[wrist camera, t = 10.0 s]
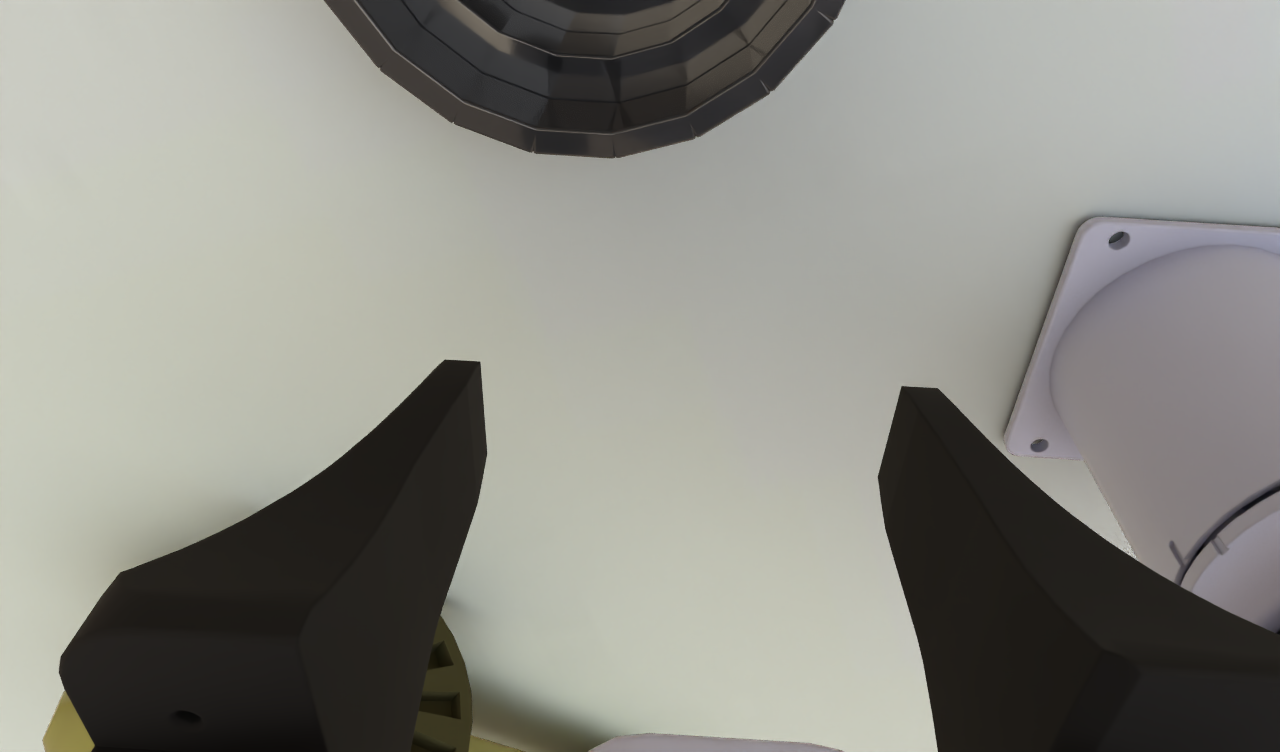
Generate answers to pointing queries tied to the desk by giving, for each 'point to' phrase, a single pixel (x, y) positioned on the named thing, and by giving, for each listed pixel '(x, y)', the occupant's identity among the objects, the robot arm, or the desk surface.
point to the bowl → (587, 64)
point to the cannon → (440, 724)
